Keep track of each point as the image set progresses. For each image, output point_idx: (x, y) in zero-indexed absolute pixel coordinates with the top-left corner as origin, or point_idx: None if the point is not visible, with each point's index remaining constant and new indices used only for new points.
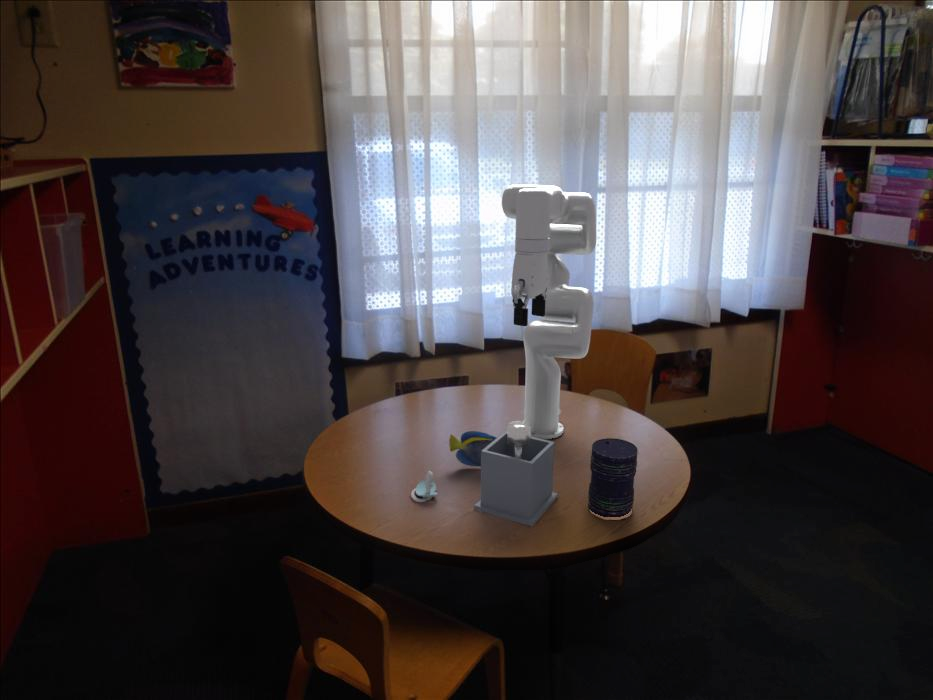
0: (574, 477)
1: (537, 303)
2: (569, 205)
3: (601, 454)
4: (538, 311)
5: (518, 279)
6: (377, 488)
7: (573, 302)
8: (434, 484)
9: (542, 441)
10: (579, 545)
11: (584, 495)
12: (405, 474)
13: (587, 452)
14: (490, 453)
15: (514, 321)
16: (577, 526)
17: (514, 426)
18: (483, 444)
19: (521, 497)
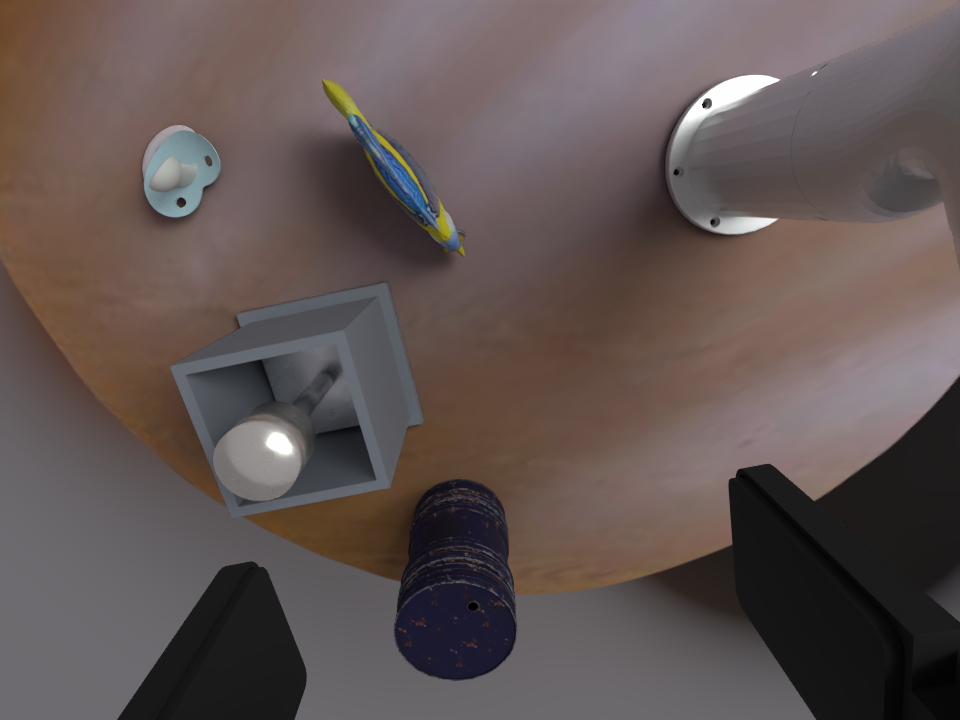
0: (532, 396)
1: (835, 665)
2: None
3: (398, 626)
4: (761, 587)
5: None
6: (100, 26)
7: None
8: (217, 166)
9: (370, 458)
10: (306, 540)
11: (473, 456)
12: (217, 26)
13: (678, 348)
14: (182, 396)
15: (213, 594)
16: (357, 506)
17: (236, 458)
18: (390, 194)
19: None
